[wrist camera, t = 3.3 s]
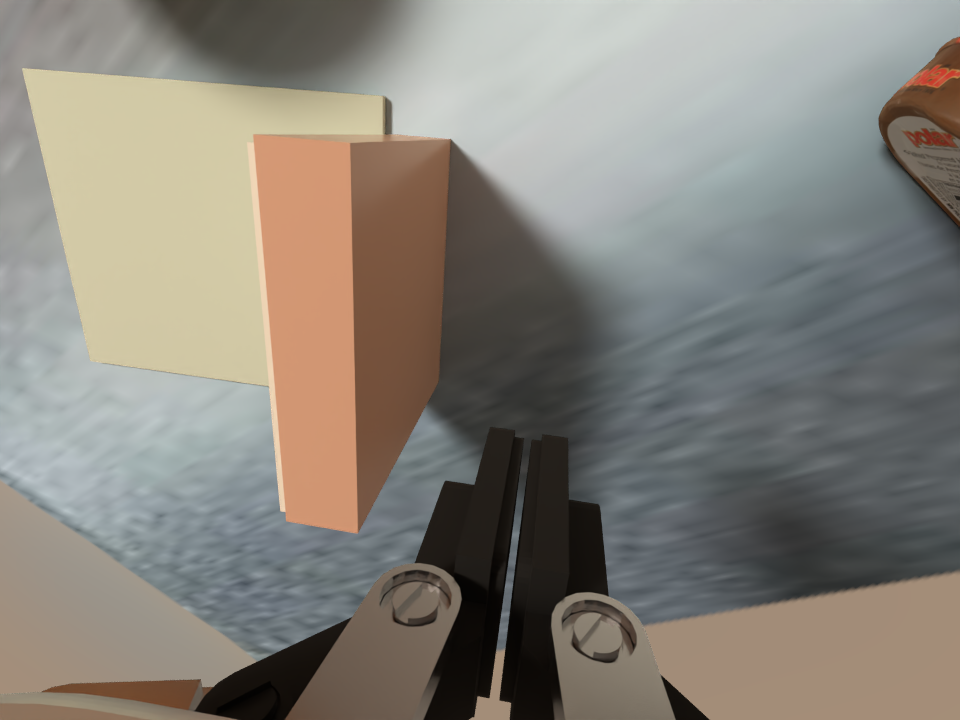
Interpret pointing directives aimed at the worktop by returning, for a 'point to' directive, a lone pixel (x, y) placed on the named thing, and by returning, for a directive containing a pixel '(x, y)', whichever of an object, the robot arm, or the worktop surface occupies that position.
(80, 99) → the mat
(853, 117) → the worktop surface
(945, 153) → the tin
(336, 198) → the tile
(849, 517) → the worktop surface
